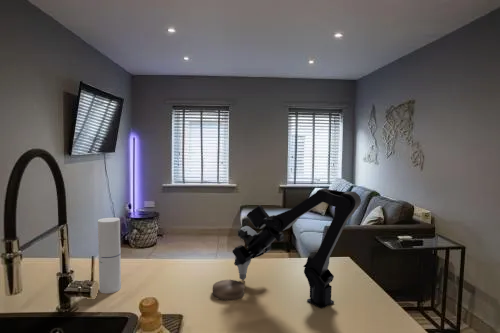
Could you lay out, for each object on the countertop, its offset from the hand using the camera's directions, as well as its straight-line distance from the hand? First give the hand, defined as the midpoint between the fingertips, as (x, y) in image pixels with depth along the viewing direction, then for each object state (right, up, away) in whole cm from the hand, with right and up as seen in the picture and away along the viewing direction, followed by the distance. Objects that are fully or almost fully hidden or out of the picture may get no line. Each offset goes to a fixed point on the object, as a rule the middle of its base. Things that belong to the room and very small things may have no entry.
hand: (239, 262), depth 134 cm
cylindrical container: (-46, -7, -9) cm, 47 cm away
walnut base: (-4, -8, -11) cm, 14 cm away
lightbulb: (+1, -7, 0) cm, 7 cm away
